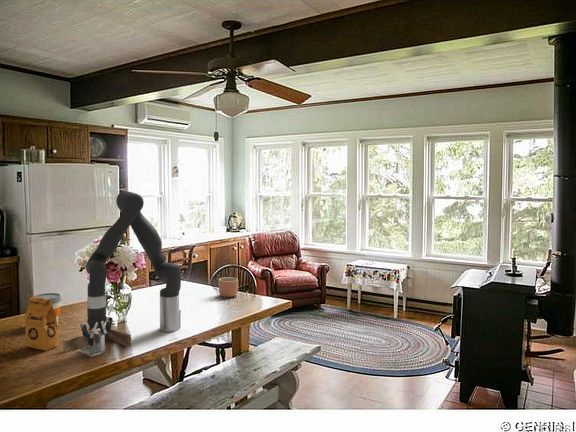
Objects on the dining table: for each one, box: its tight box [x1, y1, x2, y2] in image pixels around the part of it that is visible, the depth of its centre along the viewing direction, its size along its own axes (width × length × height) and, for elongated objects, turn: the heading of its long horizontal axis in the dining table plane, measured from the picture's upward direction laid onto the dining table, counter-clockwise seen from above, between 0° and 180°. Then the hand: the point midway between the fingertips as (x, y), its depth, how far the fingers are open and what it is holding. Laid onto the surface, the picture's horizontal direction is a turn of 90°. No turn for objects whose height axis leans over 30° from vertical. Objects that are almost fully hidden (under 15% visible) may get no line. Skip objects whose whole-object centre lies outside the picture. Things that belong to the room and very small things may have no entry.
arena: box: [62, 327, 132, 353], centre depth 195 cm, size 22×16×5 cm
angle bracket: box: [78, 330, 106, 358], centre depth 191 cm, size 10×6×8 cm, turn 54°
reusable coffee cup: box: [33, 292, 62, 325], centre depth 223 cm, size 13×13×15 cm
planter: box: [218, 276, 239, 298], centre depth 285 cm, size 12×12×11 cm
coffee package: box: [24, 296, 59, 352], centre depth 195 cm, size 10×12×22 cm
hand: (97, 343), depth 193 cm, fingers open, 5 cm apart
